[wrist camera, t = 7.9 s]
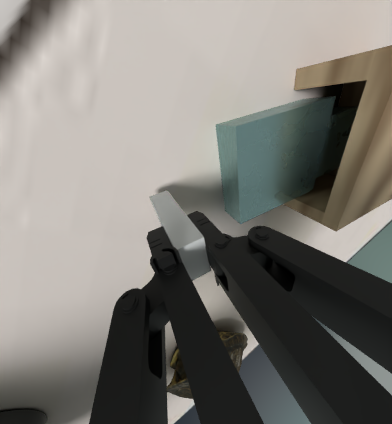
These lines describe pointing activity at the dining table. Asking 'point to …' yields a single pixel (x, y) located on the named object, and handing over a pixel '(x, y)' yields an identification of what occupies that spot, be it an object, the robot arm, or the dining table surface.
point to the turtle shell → (179, 382)
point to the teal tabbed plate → (280, 153)
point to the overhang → (354, 139)
